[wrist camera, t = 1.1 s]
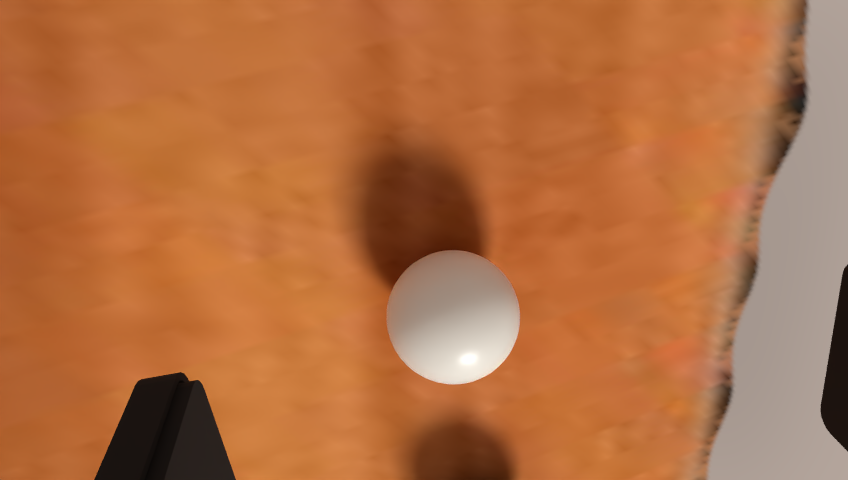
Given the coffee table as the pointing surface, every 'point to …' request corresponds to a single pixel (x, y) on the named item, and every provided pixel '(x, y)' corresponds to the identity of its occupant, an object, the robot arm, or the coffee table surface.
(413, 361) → the cue ball
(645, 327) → the coffee table surface
